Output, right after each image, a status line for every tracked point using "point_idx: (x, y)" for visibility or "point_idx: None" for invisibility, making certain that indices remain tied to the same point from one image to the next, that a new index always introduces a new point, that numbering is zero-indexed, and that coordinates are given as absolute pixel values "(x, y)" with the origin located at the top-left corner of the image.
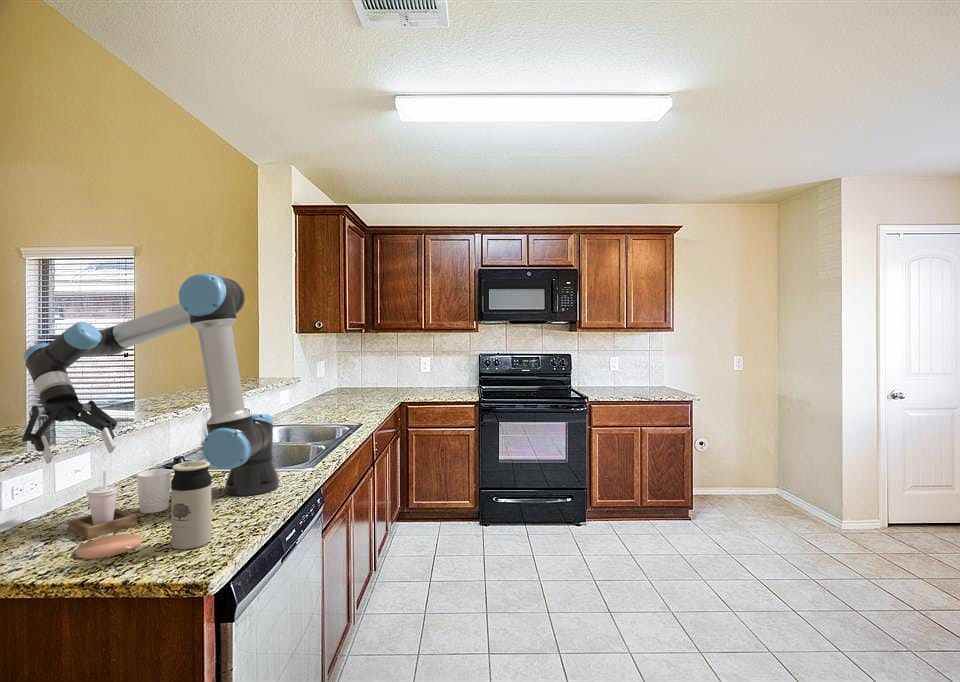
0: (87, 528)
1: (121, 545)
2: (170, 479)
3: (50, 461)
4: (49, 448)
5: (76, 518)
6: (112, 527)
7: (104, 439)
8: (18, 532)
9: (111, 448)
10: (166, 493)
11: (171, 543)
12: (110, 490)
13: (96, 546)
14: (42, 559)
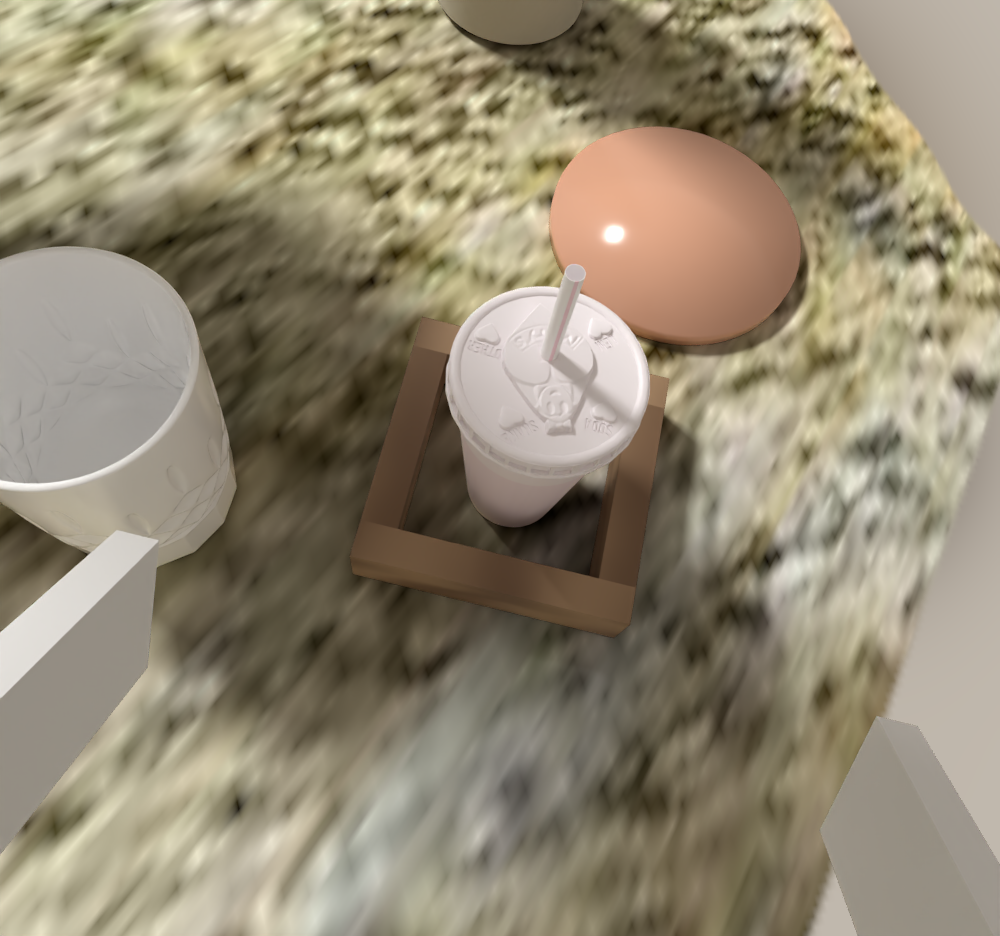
0: (667, 387)
1: (666, 171)
2: (17, 309)
3: (835, 804)
4: (943, 820)
5: (586, 610)
6: None
7: (14, 804)
8: (755, 932)
9: (154, 580)
10: (107, 351)
11: (571, 19)
12: (557, 290)
13: (719, 253)
14: (873, 384)
